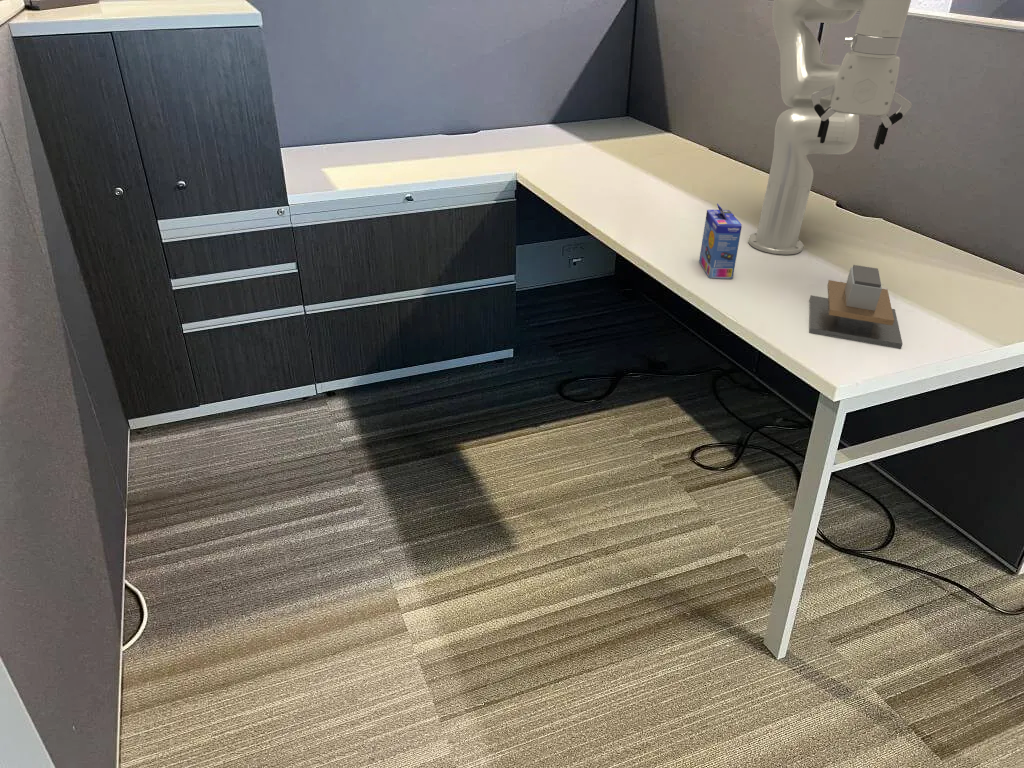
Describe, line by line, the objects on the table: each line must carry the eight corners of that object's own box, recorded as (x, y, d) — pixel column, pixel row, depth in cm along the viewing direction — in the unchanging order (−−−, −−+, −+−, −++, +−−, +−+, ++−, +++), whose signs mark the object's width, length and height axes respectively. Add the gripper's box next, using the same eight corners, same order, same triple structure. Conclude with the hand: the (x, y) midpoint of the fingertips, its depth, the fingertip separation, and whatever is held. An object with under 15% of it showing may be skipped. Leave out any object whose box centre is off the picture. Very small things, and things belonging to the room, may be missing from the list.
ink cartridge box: (696, 261, 172) (707, 198, 164) (720, 262, 172) (733, 199, 165) (707, 278, 163) (720, 213, 156) (733, 279, 164) (746, 214, 156)
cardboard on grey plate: (809, 299, 156) (815, 277, 153) (893, 313, 152) (901, 290, 149) (809, 332, 143) (815, 308, 140) (901, 348, 139) (909, 324, 136)
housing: (846, 305, 142) (853, 281, 139) (844, 287, 149) (851, 264, 147) (875, 310, 141) (883, 285, 138) (872, 292, 148) (879, 268, 145)
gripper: (823, 44, 134) (800, 143, 143) (930, 53, 130) (899, 155, 138) (823, 40, 140) (801, 135, 149) (925, 48, 136) (896, 146, 145)
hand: (848, 144), depth 144 cm, fingers open, 9 cm apart
